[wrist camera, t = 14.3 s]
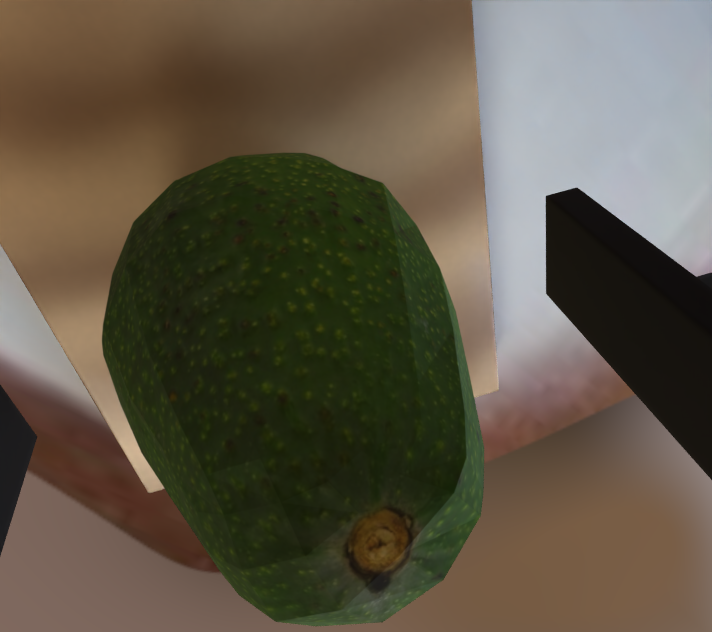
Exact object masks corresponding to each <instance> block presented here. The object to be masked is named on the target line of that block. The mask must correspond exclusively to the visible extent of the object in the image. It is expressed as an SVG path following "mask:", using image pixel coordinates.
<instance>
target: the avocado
mask: <svg viewBox="0 0 712 632" xmlns="http://www.w3.org/2000/svg"><path fill="white" fill-rule="evenodd" d="M102 348H103V356H104V359H105V362H106V364H107V367H108V370H109V373H110V376H111V379H112V382H113V385H114V387H115V390H116V393H117V396H118V399H119V402H120V405H121V407H122V409H123V411H124V414H125V416H126V418H127V421H128V423H129V425H130V428H131V430H132V432H133V435H134V437H135V439H136V441H137V444H138V446H139V448H140V451H141V453H142V454H143V456H144V458H145V459H146V461H147V462H148V464H149V465H150V467H151V468H152V470H153V471H154V473H155V474H156V476H157V477H158V479H159V481H160V482H161V484H162V485H163V487H164V488H165V490H166V491H167V493H168V494H169V496H170V497H171V499H172V500H173V502H174V503H175V505H176V506H177V508H178V509H179V511H180V512H181V514H182V515H183V517H184V518H185V520H186V521H187V523H188V524H189V526H190V527H191V529H192V530H193V532H194V533H195V535H196V536H197V538H198V539H199V541H200V542H201V544H202V545H203V547H204V548H205V549H206V551H207V552H208V554H209V555H210V557H211V558H212V560H213V561H214V563H215V564H216V566H217V567H218V569H219V570H220V572H221V573H222V574H223V575H224V577H225V578H226V579H227V580H228V582H229V583H230V584H231V585H232V587H233V588H234V589H235V591H236V592H237V593H238V594H239V595H240V596H241V597H242V598H244V599H245V600H246V601H248V602H250V603H251V604H252V605H254V606H255V607H256V608H258V609H259V610H260V611H262V612H263V613H264V614H266V615H267V616H269V617H270V618H271V619H273V620H274V621H276V622H283V623H292V624H301V625H311V626H329V625H345V624H361V623H377V622H383V621H385V620H386V619H388V618H389V617H390V616H392V615H393V614H395V613H396V612H398V611H399V610H401V609H402V608H403V607H405V606H406V605H408V604H409V603H411V602H412V601H414V600H415V599H416V598H418V597H419V596H421V595H422V594H423V593H425V592H426V591H428V590H429V589H430V588H432V587H434V586H435V585H436V584H438V583H439V582H441V581H442V580H443V579H444V578H445V576H446V574H447V573H448V571H449V569H450V568H451V566H452V564H453V562H454V561H455V559H456V557H457V555H458V554H459V552H460V550H461V549H462V547H463V545H464V543H465V541H466V540H467V538H468V536H469V535H470V533H471V531H472V529H473V528H474V526H475V525H476V523H477V521H478V519H479V518H480V516H481V508H482V499H483V488H484V487H483V484H484V482H483V481H484V445H483V440H482V435H481V430H480V425H479V420H478V415H477V410H476V405H475V400H474V395H473V390H472V385H471V380H470V375H469V370H468V365H467V361H466V356H465V351H464V347H463V342H462V337H461V333H460V328H459V323H458V319H457V314H456V310H455V308H454V305H453V302H452V300H451V297H450V294H449V291H448V289H447V286H446V283H445V281H444V278H443V275H442V272H441V270H440V267H439V265H438V264H437V262H436V260H435V258H434V256H433V254H432V252H431V251H430V249H429V247H428V245H427V243H426V241H425V240H424V238H423V236H422V234H421V232H420V230H419V228H418V227H417V225H416V224H415V222H414V221H413V220H412V219H411V217H410V216H409V215H408V214H407V212H406V211H405V210H404V209H403V207H402V206H401V205H400V204H399V202H398V201H397V200H396V199H395V197H394V196H393V195H392V194H391V192H390V191H389V190H388V189H387V187H386V186H385V185H384V184H383V183H382V182H379V181H376V180H373V179H371V178H368V177H365V176H362V175H359V174H357V173H354V172H351V171H348V170H345V169H343V168H340V167H338V166H337V165H335V164H333V163H331V162H330V161H328V160H326V159H324V158H321V157H318V156H314V155H310V154H307V153H271V154H254V155H240V156H233V157H229V158H226V159H224V160H222V161H219V162H217V163H215V164H212V165H210V166H208V167H205V168H203V169H201V170H198V171H196V172H194V173H191V174H189V175H187V176H184V177H182V178H180V179H177V180H175V181H174V182H173V183H172V184H171V185H170V186H169V187H168V188H167V189H166V190H165V191H164V192H163V193H162V194H161V195H160V196H159V197H158V198H157V199H156V200H155V201H154V202H153V203H152V204H151V205H150V206H149V207H148V208H147V209H146V210H145V211H144V212H143V213H142V214H141V215H140V216H139V217H138V218H137V219H136V220H135V221H134V222H133V224H132V226H131V229H130V231H129V234H128V236H127V239H126V241H125V244H124V246H123V249H122V251H121V254H120V256H119V258H118V261H117V263H116V266H115V268H114V271H113V273H112V278H111V284H110V289H109V295H108V300H107V305H106V311H105V316H104V322H103V331H102Z"/></svg>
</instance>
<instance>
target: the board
mask: <svg viewBox="0 0 712 632" xmlns="http://www.w3.org/2000/svg"><path fill="white" fill-rule="evenodd" d="M271 153H307V154H310V155H314V156H318V157H321V158H324V159H326V160H328V161H330V162H331V163H333V164H335V165H337V166H338V167H340V168H343V169H345V170H348V171H351V172H354V173H357V174H359V175H362V176H365V177H368V178H371V179H373V180H376V181H379V182H382V183H383V184H384V185H385V186H386V187H387V189H388V190H389V191H390V192H391V194H392V195H393V196H394V197H395V199H396V200H397V201H398V202H399V204H400V205H401V206H402V207H403V209H404V210H405V211H406V212H407V214H408V215H409V216H410V217H411V219H412V220H413V221H414V222H415V224H416V225H417V227H418V228H419V230H420V232H421V234H422V236H423V238H424V240H425V241H426V243H427V245H428V247H429V249H430V251H431V252H432V254H433V256H434V258H435V260H436V262H437V264H438V265H439V267H440V270H441V272H442V275H443V278H444V281H445V283H446V286H447V289H448V291H449V294H450V297H451V300H452V302H453V305H454V308H455V310H456V314H457V319H458V323H459V328H460V333H461V337H462V342H463V347H464V351H465V356H466V361H467V365H468V370H469V375H470V380H471V385H472V390H473V395H474V398H475V397H478V396H482V395H485V394H488V393H492V392H495V391H498V390H499V383H498V369H497V355H496V341H495V327H494V312H493V298H492V284H491V270H490V256H489V241H488V227H487V213H486V199H485V185H484V171H483V156H482V142H481V128H480V114H479V100H478V85H477V71H476V57H475V43H474V29H473V15H472V0H0V244H1V246H2V247H3V249H4V251H5V252H6V254H7V256H8V257H9V259H10V261H11V262H12V264H13V266H14V267H15V269H16V271H17V273H18V274H19V276H20V278H21V279H22V281H23V283H24V284H25V286H26V288H27V289H28V291H29V293H30V294H31V296H32V298H33V300H34V301H35V303H36V305H37V306H38V308H39V310H40V311H41V313H42V315H43V316H44V318H45V320H46V321H47V323H48V325H49V326H50V328H51V330H52V332H53V333H54V335H55V337H56V338H57V340H58V342H59V343H60V345H61V347H62V348H63V350H64V352H65V353H66V355H67V357H68V358H69V360H70V362H71V364H72V365H73V367H74V369H75V370H76V372H77V374H78V375H79V377H80V379H81V380H82V382H83V384H84V385H85V387H86V389H87V390H88V392H89V394H90V396H91V397H92V399H93V401H94V402H95V404H96V406H97V407H98V409H99V411H100V412H101V414H102V416H103V417H104V419H105V421H106V422H107V424H108V426H109V428H110V429H111V431H112V433H113V434H114V436H115V438H116V439H117V441H118V443H119V444H120V446H121V448H122V449H123V451H124V453H125V455H126V456H127V458H128V460H129V461H130V463H131V465H132V466H133V468H134V470H135V471H136V473H137V475H138V476H139V478H140V480H141V481H142V483H143V485H144V487H145V488H146V490H147V492H148V493H152V492H155V491H159V490H162V489H165V488H164V487H163V485H162V484H161V482H160V481H159V479H158V477H157V476H156V474H155V473H154V471H153V470H152V468H151V467H150V465H149V464H148V462H147V461H146V459H145V458H144V456H143V454H142V453H141V451H140V448H139V446H138V444H137V441H136V439H135V437H134V435H133V432H132V430H131V428H130V425H129V423H128V421H127V418H126V416H125V414H124V411H123V409H122V407H121V405H120V402H119V399H118V396H117V393H116V390H115V387H114V385H113V382H112V379H111V376H110V373H109V370H108V367H107V364H106V362H105V359H104V356H103V348H102V331H103V322H104V316H105V311H106V305H107V300H108V295H109V289H110V284H111V278H112V273H113V271H114V268H115V266H116V263H117V261H118V258H119V256H120V254H121V251H122V249H123V246H124V244H125V241H126V239H127V236H128V234H129V231H130V229H131V226H132V224H133V222H134V221H135V220H136V219H137V218H138V217H139V216H140V215H141V214H142V213H143V212H144V211H145V210H146V209H147V208H148V207H149V206H150V205H151V204H152V203H153V202H154V201H155V200H156V199H157V198H158V197H159V196H160V195H161V194H162V193H163V192H164V191H165V190H166V189H167V188H168V187H169V186H170V185H171V184H172V183H173V182H174V181H175V180H177V179H180V178H182V177H184V176H187V175H189V174H191V173H194V172H196V171H198V170H201V169H203V168H205V167H208V166H210V165H212V164H215V163H217V162H219V161H222V160H224V159H226V158H229V157H233V156H240V155H254V154H271Z"/></svg>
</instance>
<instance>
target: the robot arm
mask: <svg viewBox="0 0 712 632" xmlns="http://www.w3.org/2000/svg"><path fill="white" fill-rule="evenodd" d="M546 294H547V295H548V296H549V297H550V298H551V300H552V301H553V302H554V303H555V304H556V305H557V306H558V307H559V309H560V310H561V311H562V312H563V313H564V314H565V315H566V316H567V318H568V319H569V320H570V321H571V322H572V323H573V324H574V325H575V327H576V328H577V329H578V330H579V331H580V332H581V333H582V334H583V336H584V337H585V338H586V339H587V340H588V341H589V342H590V343H591V345H592V346H593V347H594V348H595V349H596V350H597V351H598V352H599V354H600V355H601V356H602V357H603V358H604V359H605V360H606V361H607V363H608V364H609V365H610V366H611V367H612V368H613V369H614V370H615V372H616V373H617V374H618V375H619V376H620V377H621V378H622V379H623V381H624V382H625V383H626V384H627V385H628V386H629V387H630V388H631V390H632V391H633V392H634V393H635V394H636V395H637V396H638V397H639V399H641V401H642V402H643V403H644V404H645V405H646V406H647V408H648V409H649V410H650V411H651V412H652V413H653V414H654V415H655V417H656V418H657V419H658V420H659V421H660V422H661V423H662V424H663V425H664V427H665V428H666V429H667V430H668V431H669V432H670V433H671V435H672V436H673V437H674V438H675V439H676V440H677V441H678V442H679V444H680V445H681V446H682V447H683V448H684V449H685V450H686V451H687V453H688V454H689V455H690V456H691V457H692V458H693V459H694V460H695V462H696V463H697V464H698V465H699V466H700V467H701V468H702V469H703V471H704V472H705V473H706V474H707V475H708V476H709V477H710V478H711V480H712V273H708V274H705V275H701V276H698V277H696V276H694V275H693V274H692V273H690V272H689V271H688V270H686V269H685V268H684V267H682V266H681V265H680V264H678V263H677V262H676V261H674V260H673V259H672V258H670V257H669V256H668V255H666V254H665V253H664V252H662V251H661V250H660V249H658V248H657V247H656V246H654V245H653V244H652V243H650V242H649V241H648V240H646V239H645V238H644V237H642V236H641V235H640V234H638V233H637V232H636V231H634V230H633V229H632V228H630V227H629V226H628V225H626V224H625V223H624V222H622V221H621V220H620V219H618V218H617V217H616V216H614V215H613V214H612V213H610V212H609V211H608V210H606V209H605V208H604V207H602V206H601V205H600V204H598V203H597V202H596V201H594V200H593V199H592V198H590V197H589V196H588V195H586V194H585V193H584V192H582V191H581V190H580V189H578V188H574V189H570V190H566V191H562V192H559V193H555V194H551V195H548V196H546ZM36 439H37V436H36V434H35V433H34V432H33V430H32V429H31V427H30V426H29V424H28V423H27V422H26V420H25V419H24V417H23V416H22V415H21V413H20V412H19V410H18V409H17V408H16V406H15V405H14V403H13V402H12V400H11V399H10V398H9V396H8V395H7V393H6V392H5V391H4V389H3V388H2V386H1V385H0V555H1V552H2V549H3V545H4V542H5V539H6V536H7V533H8V529H9V526H10V523H11V520H12V516H13V513H14V510H15V507H16V504H17V500H18V497H19V494H20V490H21V487H22V484H23V481H24V477H25V474H26V471H27V468H28V465H29V461H30V458H31V455H32V452H33V449H34V445H35V442H36Z"/></svg>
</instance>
